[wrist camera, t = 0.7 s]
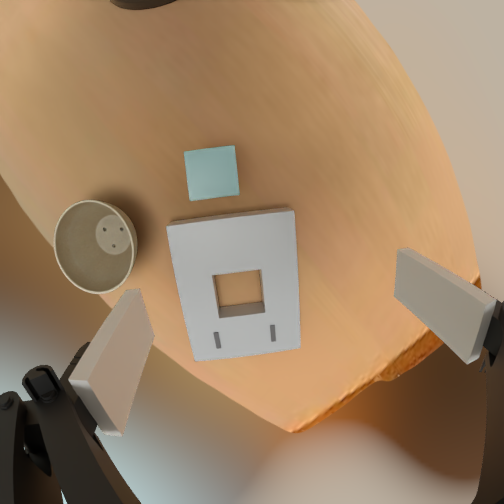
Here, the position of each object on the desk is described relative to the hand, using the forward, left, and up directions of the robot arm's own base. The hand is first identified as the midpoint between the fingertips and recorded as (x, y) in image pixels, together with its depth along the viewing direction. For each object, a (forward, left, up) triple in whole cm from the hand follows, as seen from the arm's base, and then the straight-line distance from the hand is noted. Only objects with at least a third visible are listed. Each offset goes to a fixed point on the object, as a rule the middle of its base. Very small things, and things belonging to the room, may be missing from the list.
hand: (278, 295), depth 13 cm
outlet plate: (+8, -2, -21) cm, 23 cm away
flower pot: (-1, -17, -21) cm, 27 cm away
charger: (-6, -3, -21) cm, 22 cm away
